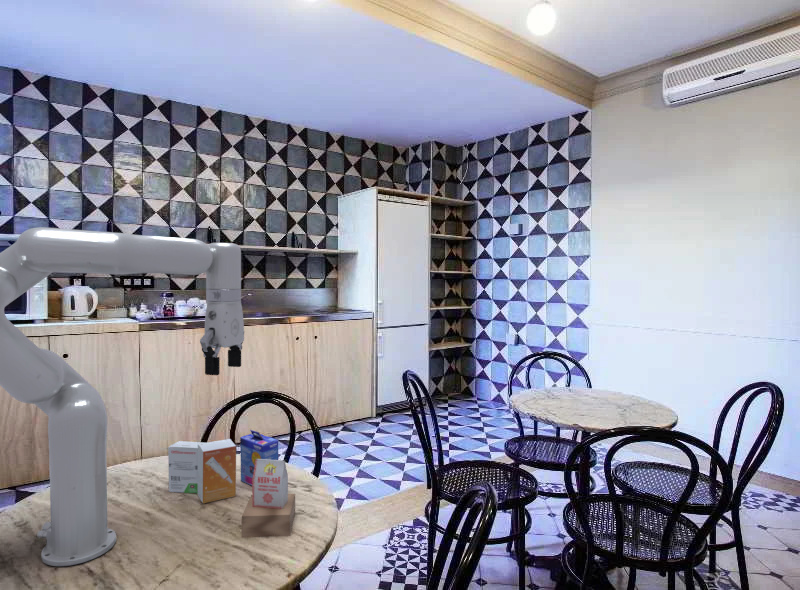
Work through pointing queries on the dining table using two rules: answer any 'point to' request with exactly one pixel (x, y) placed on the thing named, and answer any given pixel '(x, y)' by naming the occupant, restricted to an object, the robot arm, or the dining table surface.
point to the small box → (216, 470)
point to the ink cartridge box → (255, 453)
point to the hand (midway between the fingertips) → (223, 370)
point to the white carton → (269, 484)
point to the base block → (268, 520)
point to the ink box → (183, 467)
